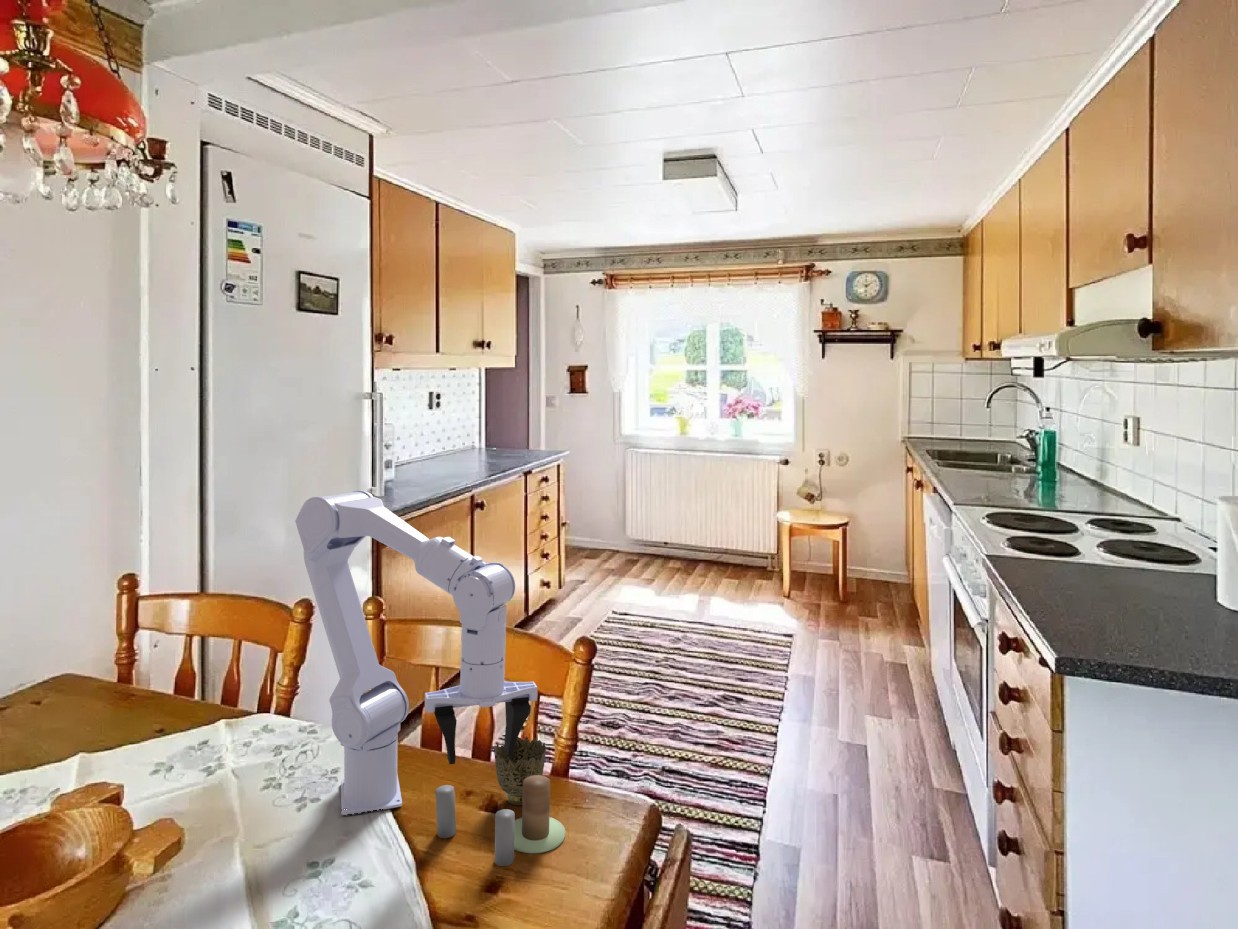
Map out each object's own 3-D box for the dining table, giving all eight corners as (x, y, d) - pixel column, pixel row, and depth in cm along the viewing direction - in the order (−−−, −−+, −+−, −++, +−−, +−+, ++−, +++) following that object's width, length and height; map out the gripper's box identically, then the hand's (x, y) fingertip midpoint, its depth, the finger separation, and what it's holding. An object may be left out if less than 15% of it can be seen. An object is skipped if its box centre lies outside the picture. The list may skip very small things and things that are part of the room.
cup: (520, 781, 112) (521, 730, 112) (555, 799, 108) (557, 746, 107) (482, 801, 107) (483, 747, 106) (517, 821, 102) (518, 765, 101)
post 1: (435, 831, 99) (433, 788, 99) (452, 825, 100) (450, 783, 100) (440, 840, 97) (438, 796, 97) (458, 834, 98) (456, 791, 98)
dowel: (519, 827, 100) (520, 777, 99) (545, 823, 101) (546, 773, 101) (525, 842, 97) (526, 791, 96) (552, 837, 98) (553, 786, 97)
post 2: (492, 856, 94) (493, 811, 94) (511, 852, 95) (512, 808, 94) (497, 867, 92) (497, 821, 91) (516, 863, 93) (516, 818, 92)
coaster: (499, 824, 101) (499, 821, 101) (555, 814, 104) (555, 811, 104) (512, 858, 94) (512, 855, 94) (572, 846, 97) (572, 843, 97)
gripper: (430, 674, 91) (428, 779, 92) (544, 663, 96) (541, 763, 98) (423, 654, 98) (421, 753, 99) (531, 645, 103) (527, 739, 104)
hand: (480, 756), depth 99 cm, fingers open, 7 cm apart
